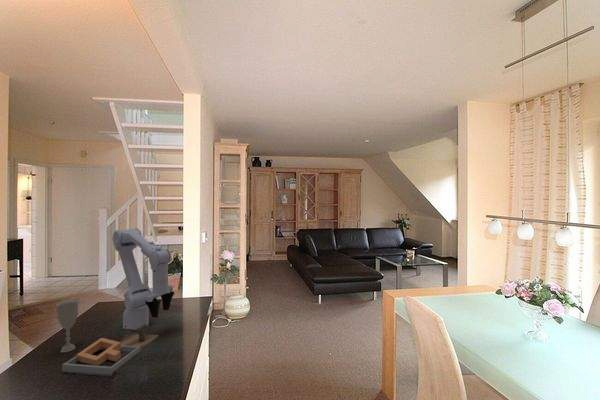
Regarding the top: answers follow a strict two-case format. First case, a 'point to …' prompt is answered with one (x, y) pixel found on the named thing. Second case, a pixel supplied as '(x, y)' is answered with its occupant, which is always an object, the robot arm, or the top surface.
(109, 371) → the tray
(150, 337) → the tan wooden piece
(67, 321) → the chalice
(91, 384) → the top surface
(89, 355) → the tan flat frame
